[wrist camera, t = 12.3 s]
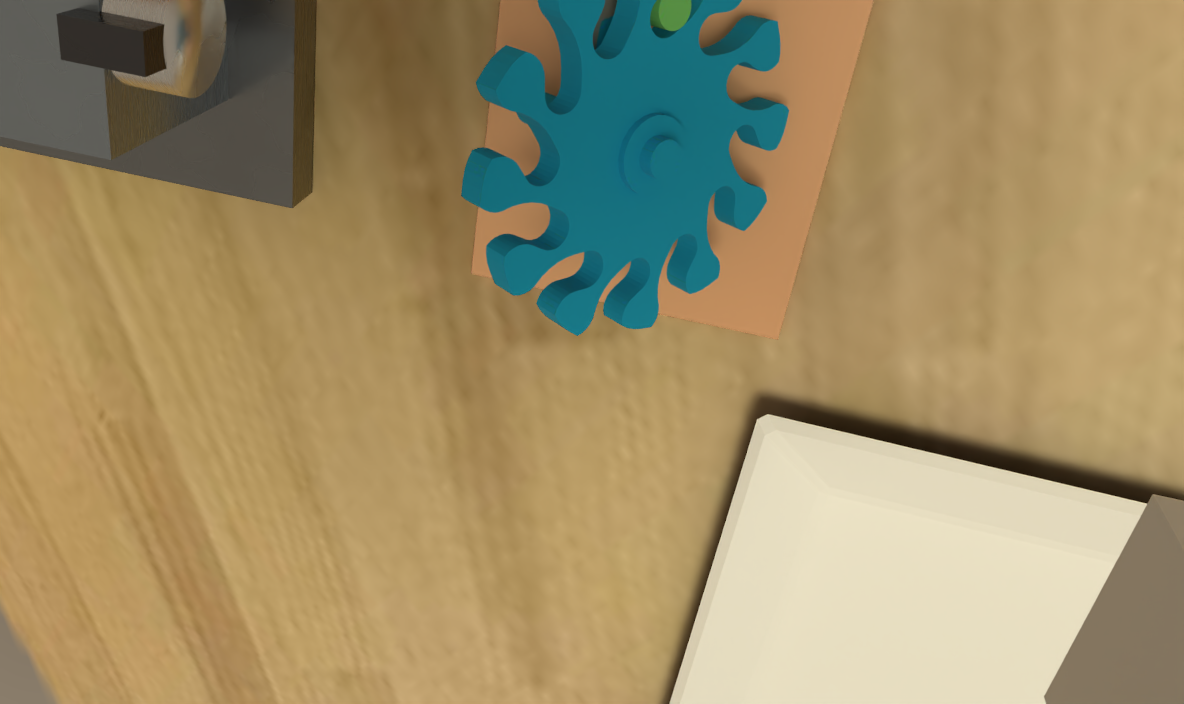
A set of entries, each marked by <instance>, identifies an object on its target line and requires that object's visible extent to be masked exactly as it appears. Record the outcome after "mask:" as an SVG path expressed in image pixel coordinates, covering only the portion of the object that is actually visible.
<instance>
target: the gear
mask: <svg viewBox="0 0 1184 704" xmlns="http://www.w3.org/2000/svg"><path fill="white" fill-rule="evenodd" d="M741 1H742V0H538V5H539V8H540V10H541V12H542V14H543V15H544V16H545V17H546V19H547V20H548V21H549V23H550V25H551V27H552V28H553V30H554V32H555V35H556V38H557V41H558V45H559V50H560V57H561V84H560V89H559V93H558V95H557V96H554V95H552V94H549V93H546V92H545V72H544V69H543V66H542V64H541V62H540V60H539V59H538V58H537V57H536V56H535V55H533V54H531V53H528V52H525V51H522V50H519V49H516V48H513V47H510V46H507V45H505V46H504V47H503V48H501V49H500V50H499V51H498V52H497V53H496V54H495V55H494V56H493V57H492V58H491V59H490V61H489V62H488V64H487V65H486V67H485V68H484V70H483V71H482V73H481V75H480V76H479V78H478V80H477V81H476V85H477V88H478V91H479V92H480V94H481V96H482V97H483V98H484V99H485V100H487V101H489V102H491V103H493V104H496V105H498V106H500V107H503V108H505V109H508V110H510V111H514V112H516V113H517V115H518V117H519V119H520V120H521V121H522V122H524V123H526V124H528V126H529V127H530V129H531V130H532V132H533V134H534V136H535V138H536V140H537V141H538V144H539V146H540V158H539V162H538V164H537V166H536V167H535V169H534V170H533V171H532V172H531V173H530V174H528V175H526V176H524V174H523V172H522V170H521V169H520V167H519V165H518V164H517V163H516V162H515V161H514V160H513V159H511V158H508V157H506V156H504V155H502V154H500V153H498V152H496V151H494V150H491V149H489V148H477V149H474V150H472V152H471V154H470V156H469V158H468V161H467V164H466V167H465V171H464V177H463V184H462V195H461V196H462V197H463V198H464V199H466V200H467V201H469V202H471V203H473V204H474V205H476V206H478V207H480V208H482V209H483V210H485V211H488V212H492V213H497V212H502V211H504V210H506V209H508V208H510V207H512V206H516V205H519V204H523V203H542V204H545V205H547V206H548V208H549V211H550V221H549V225H548V227H547V229H546V230H545V232H544V233H543V234H542V235H541V236H539V237H538V238H536V239H533V240H527V239H523V238H521V237H518V236H516V235H513V234H502V235H499V236H497V237H495V238H493V239H492V240H491V241H490V242H489V243H488V244H487V245H486V258H487V264H488V267H489V270H490V273H491V275H492V278H493V280H494V282H495V284H496V285H498V286H499V287H501V288H503V289H504V290H506V291H507V292H509V293H510V294H512V295H521V294H525V293H526V292H528V291H530V290H531V289H532V288H533V287H534V286H535V285H536V284H537V283H538V281H539V280H540V279H541V277H542V276H543V275H544V274H545V273H546V272H547V271H548V270H549V269H550V268H552V267H553V266H554V265H555V264H557V263H558V262H560V261H562V260H563V259H565V258H567V257H570V256H572V255H575V254H579V253H582V252H584V260H583V263H582V265H581V267H580V269H579V270H578V271H577V272H576V273H575V274H574V275H572V276H570V277H567V278H564V279H560V280H557V281H554V282H552V283H550V284H549V285H547V286H546V287H545V288H544V290H543V291H542V292H541V294H540V296H539V298H538V300H537V305H538V307H539V309H540V310H541V312H542V313H543V314H544V315H545V316H547V317H548V318H549V319H551V320H552V321H554V322H555V323H557V324H559V325H560V326H562V327H563V328H565V329H566V330H568V331H570V332H571V333H573V334H575V335H577V336H578V335H579V334H581V333H583V332H584V331H585V330H586V329H587V327H588V326H589V325H590V323H591V321H592V319H593V316H594V313H595V309H596V306H597V304H598V301H599V299H600V297H601V295H602V293H603V292H604V290H605V288H606V287H607V285H608V284H609V283H610V281H611V280H612V279H613V278H614V277H615V276H616V274H617V273H618V272H619V271H620V270H622V269H623V268H624V267H625V266H626V265H627V264H628V263H629V262H630V261H631V264H630V268H629V271H628V273H627V274H626V276H625V277H624V278H623V279H622V280H621V281H620V282H619V283H618V284H617V285H616V286H615V287H614V288H613V289H612V290H611V291H610V292H609V294H608V295H607V297H606V300H605V303H604V309H603V311H604V315H605V316H607V317H609V318H610V319H612V320H614V321H615V322H617V323H619V324H620V325H622V326H624V327H626V328H631V329H642V328H648V327H651V326H652V325H653V324H654V322H655V320H656V318H657V315H658V311H659V302H658V284H659V278H660V274H661V271H662V268H663V265H664V263H665V260H666V258H667V256H668V254H669V252H670V250H671V248H672V246H673V244H674V242H675V241H676V240H677V239H678V240H677V244H676V247H675V249H674V251H673V253H672V256H671V258H670V260H669V262H668V266H667V279H668V281H669V282H670V284H671V285H673V286H675V287H677V288H679V289H681V290H683V291H685V292H687V293H689V294H693V293H696V292H698V291H700V290H702V289H704V288H705V287H707V286H708V285H710V284H711V283H712V282H714V281H715V280H716V279H718V277H719V273H720V262H719V260H718V258H717V257H716V255H715V254H714V253H713V251H712V249H711V247H710V244H709V241H708V235H707V216H708V207H709V202H710V199H711V197H712V196H713V194H714V193H715V198H714V213H715V216H716V218H717V219H718V220H719V221H721V222H723V223H726V224H728V225H730V226H732V227H735V228H737V229H739V230H742V231H745V230H746V229H747V228H748V227H749V226H750V225H751V224H752V223H753V222H754V221H755V219H756V218H757V217H758V215H759V214H760V212H761V211H762V209H763V207H764V206H765V204H766V202H767V196H766V193H765V191H764V190H763V189H762V188H760V187H758V186H756V185H753V184H751V183H748V182H745V181H744V180H742V179H741V177H740V176H739V175H738V173H737V171H736V169H735V167H734V165H733V162H732V159H731V157H730V153H729V144H730V140H731V138H732V136H733V134H734V132H735V131H737V134H738V136H739V138H740V140H741V141H742V142H744V143H746V144H749V145H752V146H755V147H758V148H761V149H764V150H767V151H772V150H775V149H777V147H778V145H779V143H780V141H781V139H782V136H783V133H784V130H785V127H786V123H787V118H788V114H789V109H788V108H787V106H785V105H784V104H780V103H777V102H774V101H771V100H767V99H764V98H760V97H756V98H753V99H751V100H749V101H747V102H743V103H738V104H737V103H735V102H734V101H732V100H731V99H730V98H729V96H728V94H727V80H728V77H729V74H730V72H731V71H732V69H733V68H734V67H735V66H736V65H740V66H744V67H747V68H751V69H755V70H758V71H763V72H765V71H769V70H771V69H773V68H774V67H775V66H776V65H777V64H778V63H779V59H780V46H781V43H780V33H779V27H778V21H774V20H770V19H766V18H761V17H757V16H752V15H749V16H745V17H743V18H741V19H740V20H739V21H738V22H737V23H736V25H735V26H734V27H733V29H732V30H731V31H730V32H729V33H728V34H727V35H726V36H725V37H724V38H722V39H721V40H720V41H718V42H717V43H715V44H713V45H711V46H708V47H704V48H700V45H699V33H700V29H701V27H702V24H703V23H704V21H705V20H706V19H707V18H708V17H709V16H710V15H712V14H715V13H723V12H729V11H732V10H733V9H735V8H736V7H737V6H738V5H739V4H740V3H741ZM651 26H653V28H651Z"/></svg>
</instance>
